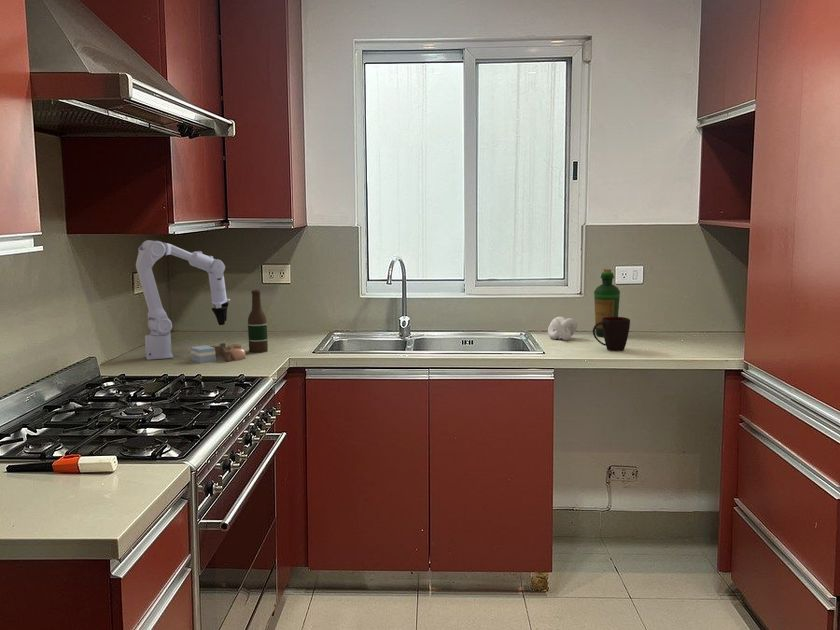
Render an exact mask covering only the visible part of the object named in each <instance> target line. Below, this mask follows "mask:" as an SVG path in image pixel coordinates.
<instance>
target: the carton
mask: <svg viewBox="0 0 840 630" xmlns="http://www.w3.org/2000/svg"><path fill="white" fill-rule="evenodd" d="M210 346H211V345H207V344H206V345H196V346H191V347H190V354H191V355H190V356H191V361H193V362H195V363H196V362H197V363H199V364H203V363H211V362H216V361H217V360H216V359H217V356H215V354H216V353H215V348H213V347H210Z"/></svg>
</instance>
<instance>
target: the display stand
mask: <svg viewBox="0 0 840 630" xmlns="http://www.w3.org/2000/svg"><path fill="white" fill-rule="evenodd" d="M209 346H210V347H213V348H215V353H216V354H215V357H217V356H222V358H223V359H224V361H225V362H226V363H227V362H228V363H229V362H232V360H231V354H230V351H229V350H228V349H227V346H226V343H225V342H219V345H209Z"/></svg>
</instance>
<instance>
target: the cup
mask: <svg viewBox="0 0 840 630" xmlns="http://www.w3.org/2000/svg"><path fill="white" fill-rule="evenodd" d="M600 324H602V327H603V334H604V337H603V340H604V342H602V341H600V339H599V338H598V336H597V335H596V327H597V326H598V325H600ZM630 326H631V319H630V318H628V317H624V316H618V317H605V318H602V322H599V323H597V324H596V325H594V326H593V328H592V334H593V337H594V339H595V340H596V341H597V342H598V343H599V344H601V345H602V346H605V347H606V350H607V351H609V352H623V351H624V350H625V349H626V345H627V341H628V338H629V334H630V333H629V332H630V328H631V327H630Z"/></svg>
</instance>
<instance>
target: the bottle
mask: <svg viewBox="0 0 840 630" xmlns="http://www.w3.org/2000/svg"><path fill="white" fill-rule="evenodd" d="M600 279H601V284H600V285H598V286H597V287H596V288H595V290H594V291H593V295H594V300H593V301H594V318H595V319H594V321H595V322H594V323H595V325H596V324H597V323H599V322H602V318H605V317H619V308H620V298H621V291H620V289H619V287H617V286H616V285H615V284H613V281H614V280H613V279H615V276H614V272H612V269H610V268H606V269H603V272H601V275H600ZM595 325H594V326H595ZM595 335H596V337H600V338H604V334H603V327H602V324H600V325H598V326H597V327H596V329H595Z"/></svg>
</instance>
